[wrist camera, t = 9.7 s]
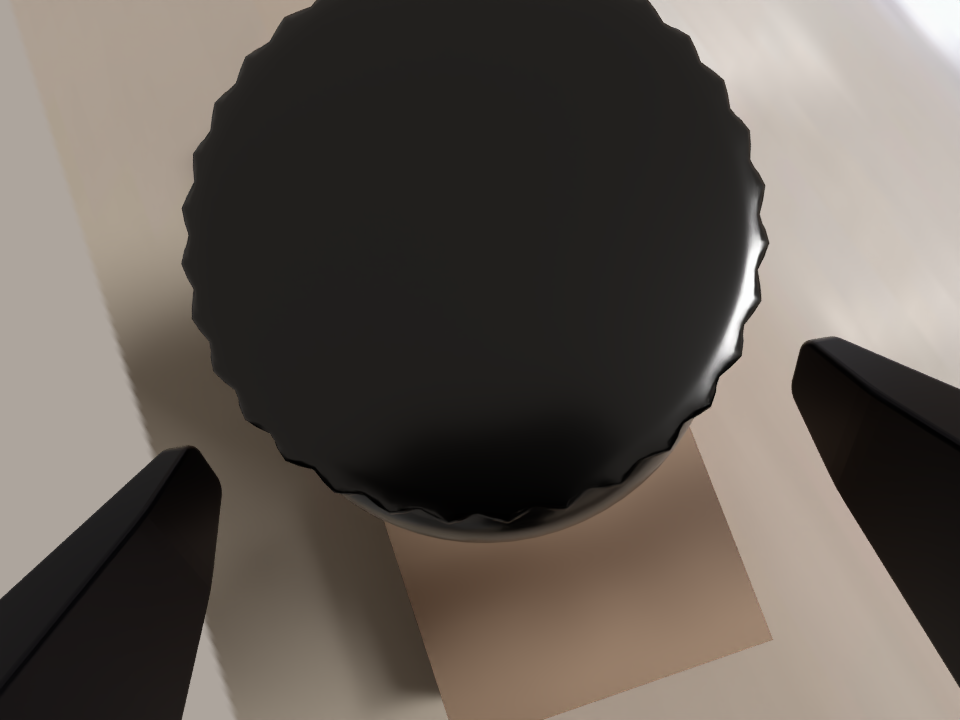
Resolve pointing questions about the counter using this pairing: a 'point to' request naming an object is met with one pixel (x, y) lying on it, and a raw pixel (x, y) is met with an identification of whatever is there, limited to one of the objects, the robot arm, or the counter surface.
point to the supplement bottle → (475, 253)
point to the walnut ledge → (583, 601)
